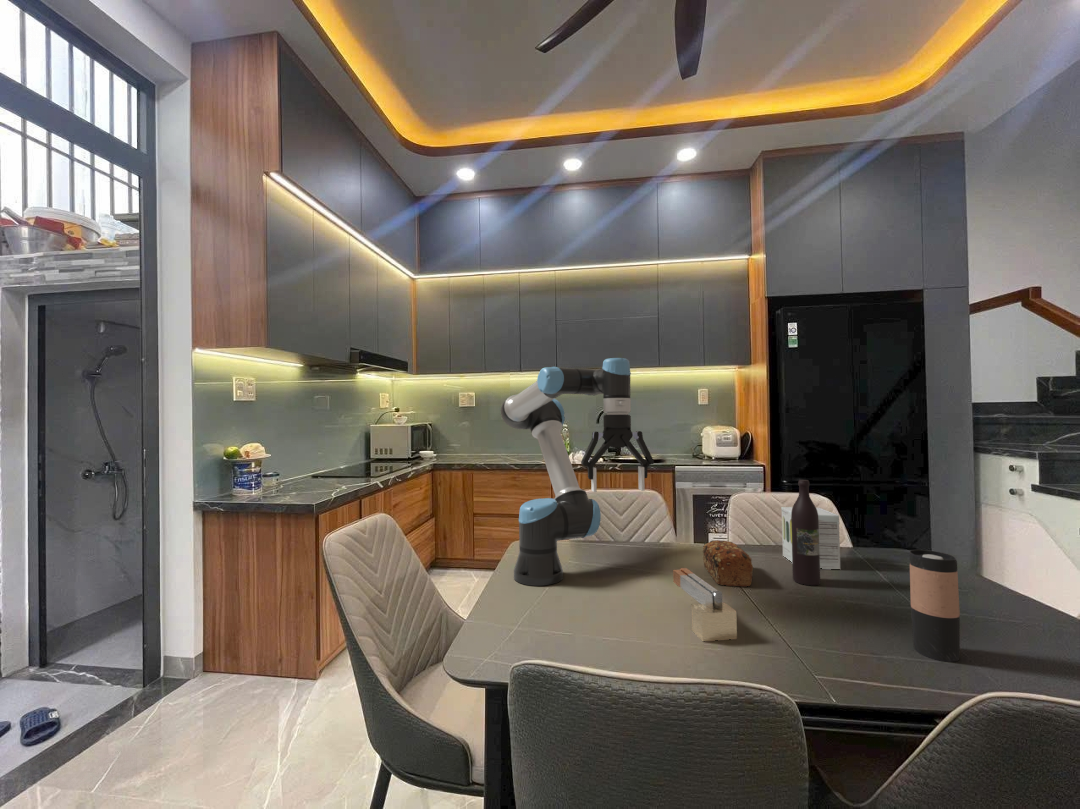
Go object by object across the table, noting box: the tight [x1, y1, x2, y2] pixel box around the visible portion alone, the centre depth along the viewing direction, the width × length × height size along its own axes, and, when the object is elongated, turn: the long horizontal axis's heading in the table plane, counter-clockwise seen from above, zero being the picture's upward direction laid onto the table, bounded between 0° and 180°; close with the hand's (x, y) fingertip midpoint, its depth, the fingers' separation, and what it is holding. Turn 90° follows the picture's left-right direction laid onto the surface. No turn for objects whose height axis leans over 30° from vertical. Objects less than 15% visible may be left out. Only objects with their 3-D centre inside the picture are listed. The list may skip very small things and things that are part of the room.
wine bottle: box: [791, 479, 821, 587], centre depth 135 cm, size 7×7×30 cm
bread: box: [702, 539, 754, 588], centre depth 140 cm, size 19×11×10 cm, turn 172°
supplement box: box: [781, 506, 841, 570], centre depth 152 cm, size 13×13×18 cm
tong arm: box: [679, 567, 723, 609], centre depth 110 cm, size 18×2×3 cm, turn 8°
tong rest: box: [672, 569, 738, 642], centre depth 109 cm, size 20×8×9 cm, turn 8°
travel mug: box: [908, 549, 961, 663], centre depth 94 cm, size 8×8×20 cm
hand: (617, 490), depth 125 cm, fingers open, 13 cm apart
